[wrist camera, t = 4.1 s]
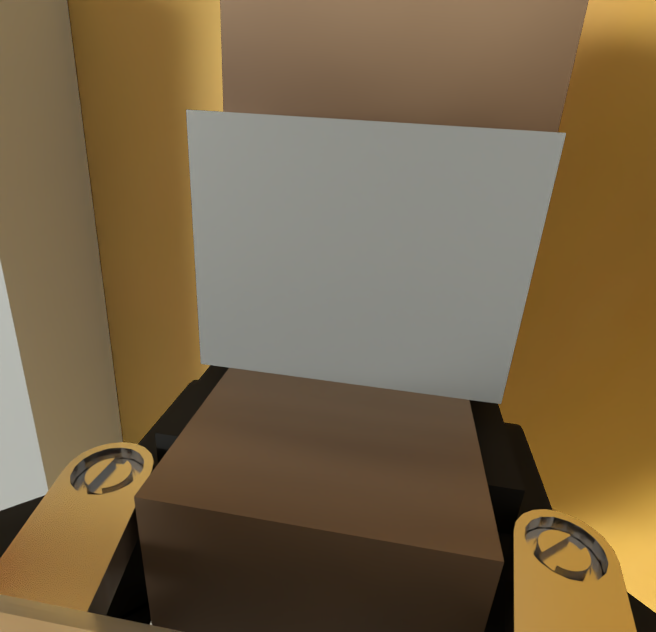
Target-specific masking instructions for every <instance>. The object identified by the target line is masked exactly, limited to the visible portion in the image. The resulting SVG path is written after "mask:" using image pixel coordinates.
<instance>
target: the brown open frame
mask: <svg viewBox="0 0 656 632" xmlns="http://www.w3.org/2000/svg"><path fill="white" fill-rule="evenodd" d="M588 1H589V0H220V9H221V43H222V77H223V112H234V113H250V114H267V115H283V116H299V117H316V118H332V119H348V120H365V121H381V122H397V123H413V124H430V125H446V126H462V127H478V128H495V129H511V130H527V131H543V132H558V129H559V125H560V121H561V117H562V112H563V108H564V104H565V99H566V95H567V91H568V87H569V82H570V78H571V74H572V69H573V65H574V61H575V57H576V52H577V48H578V44H579V39H580V35H581V31H582V27H583V22H584V18H585V14H586V10H587V5H588ZM134 502H135V510H136V517H137V524H138V531H139V538H140V545H141V552H142V559H143V566H144V573H145V581H146V588H147V595H148V602H149V609H150V616H151V623H152V625H153V626H158V627H163V628H168V629H172V630H177V631H182V632H484V630H485V627H486V623H487V620H488V616H489V613H490V609H491V606H492V602H493V599H494V595H495V592H496V588H497V585H498V582H499V578H500V575H501V571H502V568H503V564H504V559H503V554H502V549H501V545H500V540H499V535H498V531H497V526H496V522H495V517H494V512H493V508H492V503H491V498H490V494H489V489H488V484H487V480H486V475H485V470H484V466H483V461H482V456H481V452H480V447H479V442H478V438H477V433H476V428H475V424H474V419H473V414H472V410H471V405H470V400H467V399H459V398H452V397H444V396H437V395H430V394H422V393H415V392H407V391H400V390H392V389H385V388H377V387H370V386H363V385H355V384H348V383H340V382H333V381H325V380H318V379H310V378H303V377H295V376H288V375H281V374H273V373H266V372H258V371H251V370H243V369H236V368H229V369H228V370H227V371H226V373H225V374H224V375H223V377H222V378H221V379H220V381H219V382H218V383H217V385H216V386H215V388H214V389H213V390H212V392H211V393H210V394H209V396H208V397H207V398H206V400H205V401H204V402H203V404H202V405H201V406H200V408H199V409H198V411H197V412H196V413H195V415H194V416H193V417H192V419H191V420H190V421H189V423H188V424H187V425H186V427H185V428H184V429H183V431H182V432H181V434H180V435H179V436H178V438H177V439H176V440H175V442H174V443H173V444H172V446H171V447H170V448H169V450H168V451H167V452H166V454H165V455H164V457H163V458H162V459H161V461H160V462H159V463H158V465H157V466H156V467H155V469H154V470H153V471H152V473H151V474H150V475H149V477H148V478H147V480H146V481H145V482H144V484H143V485H142V486H141V488H140V489H139V490H138V492H137V493H136V494H135V496H134Z"/></svg>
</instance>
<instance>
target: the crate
mask: <svg viewBox="0 0 656 632" xmlns="http://www.w3.org/2000/svg"><path fill="white" fill-rule="evenodd" d="M186 116H187V134H188V151H189V168H190V185H191V202H192V220H193V237H194V254H195V271H196V289H197V306H198V323H199V340H200V357H201V364H206V365H213V366H221V367H228V368H236V369H243V370H251V371H258V372H266V373H273V374H281V375H288V376H295V377H303V378H310V379H318V380H325V381H333V382H340V383H348V384H355V385H363V386H370V387H377V388H385V389H392V390H400V391H407V392H415V393H422V394H430V395H437V396H444V397H452V398H459V399H467V400H474V401H482V402H489V403H497V404H501V403H502V399H503V394H504V390H505V386H506V382H507V378H508V374H509V369H510V365H511V361H512V357H513V353H514V349H515V344H516V340H517V336H518V332H519V328H520V324H521V319H522V315H523V311H524V307H525V303H526V299H527V294H528V290H529V286H530V282H531V278H532V274H533V270H534V265H535V261H536V257H537V253H538V249H539V245H540V240H541V236H542V232H543V228H544V224H545V220H546V215H547V211H548V207H549V203H550V199H551V195H552V190H553V186H554V182H555V178H556V174H557V170H558V165H559V161H560V157H561V153H562V149H563V145H564V140H565V136H566V133H559V132H543V131H527V130H511V129H495V128H478V127H462V126H446V125H430V124H413V123H397V122H381V121H365V120H348V119H332V118H316V117H299V116H283V115H267V114H250V113H234V112H218V111H201V110H186Z"/></svg>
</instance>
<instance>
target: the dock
mask: <svg viewBox="0 0 656 632" xmlns="http://www.w3.org/2000/svg"><path fill="white" fill-rule="evenodd" d="M118 442H123V438H122V430H121V423H120V415H119V407H118V399H117V391H116V383H115V375H114V367H113V359H112V351H111V343H110V335H109V327H108V320H107V312H106V304H105V296H104V288H103V280H102V272H101V264H100V256H99V248H98V240H97V232H96V224H95V217H94V209H93V201H92V193H91V185H90V177H89V169H88V161H87V153H86V145H85V137H84V129H83V121H82V114H81V106H80V98H79V90H78V82H77V74H76V66H75V58H74V50H73V42H72V34H71V26H70V18H69V11H68V3H67V0H0V511H1V510H4V509H7V508H10V507H12V506H15V505H18V504H21V503H24V502H27V501H30V500H33V499H35V498H38V497H41V496H44V495H46V493H47V492H48V490H49V489H50V488H51V486H52V485H53V483H54V482H55V481H56V479H57V478H58V476H59V475H60V474H61V472H62V471H63V469H64V468H65V467H66V466H67V465H68V464H69V463H70V462H71V461H72V460H73V459H74V458H76V457H77V456H79V455H80V454H82V453H83V452H85V451H87V450H90V449H92V448H94V447H97V446H101V445H105V444H109V443H118Z"/></svg>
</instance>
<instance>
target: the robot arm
mask: <svg viewBox="0 0 656 632" xmlns="http://www.w3.org/2000/svg"><path fill="white" fill-rule="evenodd" d="M228 369H229V368H228V367H221V366H213V365H211V366H210V367H209V368H208V369H207V370H206V372H205V373H204V374H203V375H202V376H201V378H200V379H199V380H193V381H192V382H191V383H190V384H189V385H188V386H187V387H186V388H185V389H184V391H183V392H182V393H181V394H180V395H179V396H178V398H177V399H176V400H175V401H174V402H173V404H172V405H171V406H170V407H169V408H168V409H167V411H166V412H165V413H164V414H163V415H162V416H161V418H160V419H159V420H158V421H157V422H156V424H155V425H154V426H153V427H152V428H151V429H150V431H149V432H148V433H147V434H146V435H145V437H144V438H143V439H142V440H141V441H140V442H139V444H135V443H128V442H118V443H109V444H105V445H101V446H97V447H94V448H92V449H90V450H87V451H85V452H83V453H82V454H80V455H79V456H77V457H76V458H74V459H73V460H72V461H71V462H70V463H69V464H68V465H67V466H66V467H65V468H64V469H63V471H62V472H61V474H60V475H59V476H58V478H57V479H56V481H55V482H54V483H53V485H52V486H51V488H50V489H49V490H48V492H47V493H46V495H44V496H41V497H38V498H35V499H33V500H30V501H27V502H24V503H21V504H18V505H15V506H12V507H10V508H7V509H4V510H1V511H0V632H182V631H177V630H172V629H168V628H163V627H158V626H153V625H152V623H151V616H150V609H149V602H148V595H147V588H146V581H145V573H144V566H143V559H142V552H141V545H140V538H139V531H138V524H137V517H136V510H135V502H134V496H135V494H136V493H137V492H138V490H139V489H140V488H141V486H142V485H143V484H144V482H145V481H146V480H147V478H148V477H149V475H150V474H151V473H152V471H153V470H154V469H155V467H156V466H157V465H158V463H159V462H160V461H161V459H162V458H163V457H164V455H165V454H166V452H167V451H168V450H169V448H170V447H171V446H172V444H173V443H174V442H175V440H176V439H177V438H178V436H179V435H180V434H181V432H182V431H183V429H184V428H185V427H186V425H187V424H188V423H189V421H190V420H191V419H192V417H193V416H194V415H195V413H196V412H197V411H198V409H199V408H200V406H201V405H202V404H203V402H204V401H205V400H206V398H207V397H208V396H209V394H210V393H211V392H212V390H213V389H214V388H215V386H216V385H217V383H218V382H219V381H220V379H221V378H222V377H223V375H224V374H225V373H226V371H227V370H228ZM470 405H471V410H472V414H473V419H474V424H475V428H476V433H477V438H478V442H479V447H480V452H481V456H482V461H483V466H484V470H485V475H486V480H487V484H488V489H489V494H490V498H491V503H492V508H493V512H494V517H495V522H496V526H497V531H498V535H499V540H500V545H501V549H502V554H503V559H504V564H503V568H502V571H501V575H500V578H499V582H498V585H497V588H496V592H495V595H494V599H493V602H492V606H491V609H490V613H489V616H488V620H487V623H486V627H485V630H484V632H656V613H655V612H653V611H652V610H651V609H649V608H648V607H647V606H645V605H644V604H643V603H641V602H640V601H639V600H637V599H636V598H635V597H633V596H632V595H631V594H629V593H628V592H627V590H626V586H625V582H624V578H623V574H622V570H621V566H620V563H619V561H618V558H617V556H616V554H615V551H614V550H613V548H612V547H611V546H610V545H609V543H608V542H607V541H606V540H605V538H604V537H603V536H601V535H600V534H599V533H598V532H597V531H595V530H594V529H593V528H592V527H591V526H589V525H587V524H586V523H584V522H582V521H581V520H579V519H577V518H575V517H573V516H570V515H567V514H565V513H562V512H559V511H553V510H552V508H551V505H550V502H549V499H548V497H547V494H546V491H545V489H544V486H543V483H542V480H541V478H540V475H539V472H538V470H537V467H536V464H535V461H534V459H533V456H532V453H531V451H530V448H529V445H528V443H527V440H526V437H525V434H524V432H523V429H522V428H521V426H520V425H517V424H510V423H504V422H503V419H502V415H501V412H500V409H499V406H498V404H497V403H489V402H482V401H474V400H470Z"/></svg>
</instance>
